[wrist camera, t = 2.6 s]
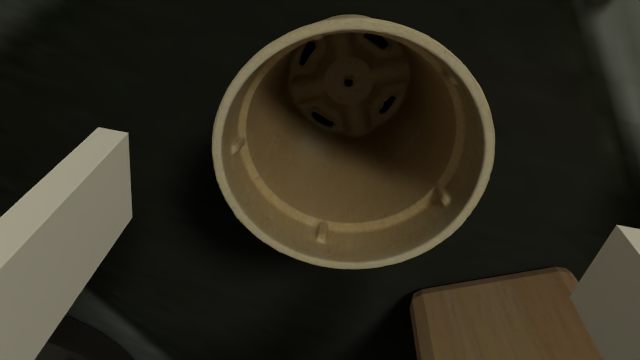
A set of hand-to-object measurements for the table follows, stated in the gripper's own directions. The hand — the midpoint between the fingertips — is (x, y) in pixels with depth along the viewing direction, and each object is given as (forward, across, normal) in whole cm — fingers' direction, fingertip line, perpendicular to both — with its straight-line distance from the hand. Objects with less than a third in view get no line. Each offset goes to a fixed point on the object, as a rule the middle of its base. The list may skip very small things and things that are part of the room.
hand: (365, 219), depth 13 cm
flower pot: (+12, 0, 0) cm, 12 cm away
